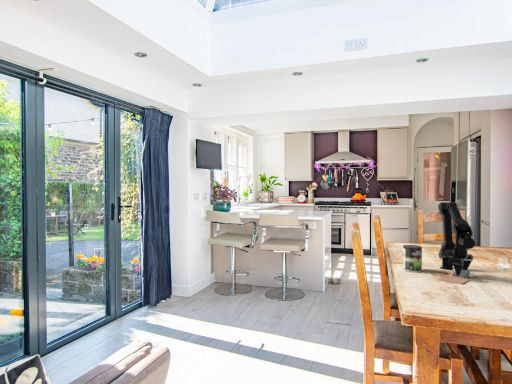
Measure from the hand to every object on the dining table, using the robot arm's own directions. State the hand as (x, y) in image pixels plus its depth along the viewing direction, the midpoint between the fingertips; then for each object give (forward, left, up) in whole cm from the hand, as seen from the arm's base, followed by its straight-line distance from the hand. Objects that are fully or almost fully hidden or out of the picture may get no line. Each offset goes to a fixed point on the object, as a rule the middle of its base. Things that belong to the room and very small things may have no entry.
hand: (461, 274), depth 198 cm
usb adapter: (0, 0, -1) cm, 1 cm away
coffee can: (+4, -25, -2) cm, 25 cm away
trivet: (+11, 0, -1) cm, 11 cm away
